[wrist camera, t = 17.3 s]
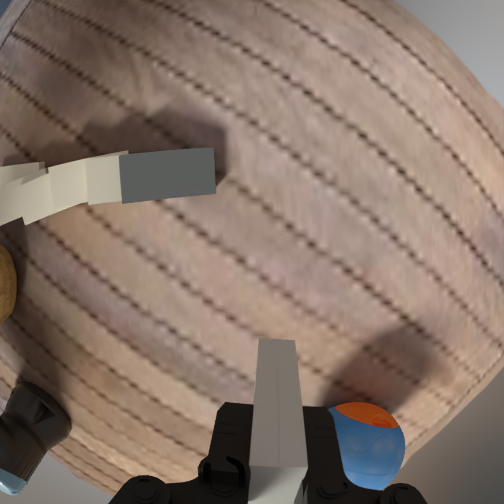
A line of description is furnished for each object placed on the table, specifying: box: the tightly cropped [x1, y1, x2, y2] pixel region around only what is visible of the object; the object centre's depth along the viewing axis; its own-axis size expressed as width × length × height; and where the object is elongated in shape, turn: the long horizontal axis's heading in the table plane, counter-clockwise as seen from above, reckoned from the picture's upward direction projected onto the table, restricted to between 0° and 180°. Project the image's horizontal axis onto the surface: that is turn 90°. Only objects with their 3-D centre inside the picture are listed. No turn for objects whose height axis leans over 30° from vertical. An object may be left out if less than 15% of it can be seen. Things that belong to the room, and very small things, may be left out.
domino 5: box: [85, 153, 135, 205], centre depth 33 cm, size 2×5×10 cm
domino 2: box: [0, 168, 49, 226], centre depth 34 cm, size 2×5×10 cm
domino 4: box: [48, 150, 129, 209], centre depth 33 cm, size 2×5×10 cm
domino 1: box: [0, 162, 45, 187], centre depth 36 cm, size 2×5×10 cm
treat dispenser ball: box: [328, 402, 405, 490], centre depth 36 cm, size 16×15×15 cm
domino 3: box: [14, 173, 77, 225], centre depth 33 cm, size 2×5×10 cm
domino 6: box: [119, 147, 216, 204], centre depth 32 cm, size 2×5×10 cm
